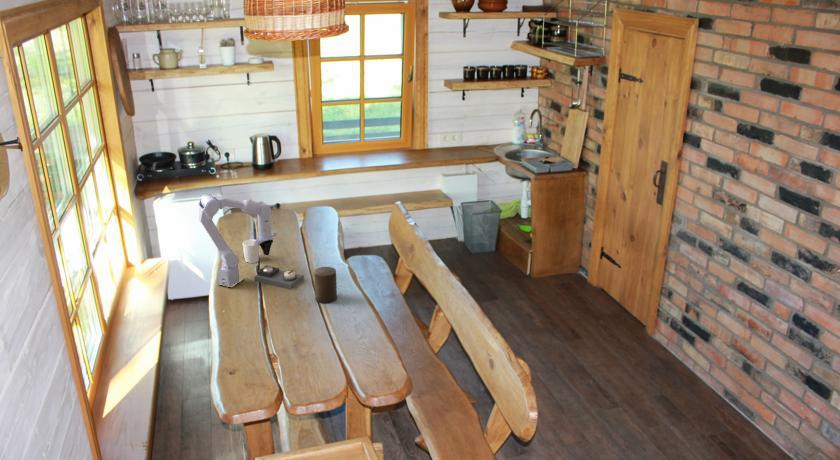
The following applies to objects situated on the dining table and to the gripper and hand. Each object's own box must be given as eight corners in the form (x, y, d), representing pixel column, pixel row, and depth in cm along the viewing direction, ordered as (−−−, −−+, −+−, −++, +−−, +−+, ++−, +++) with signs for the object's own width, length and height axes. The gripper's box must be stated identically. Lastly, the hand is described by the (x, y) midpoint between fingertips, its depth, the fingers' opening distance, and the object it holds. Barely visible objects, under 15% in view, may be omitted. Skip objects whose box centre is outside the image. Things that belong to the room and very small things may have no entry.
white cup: (262, 258, 357) (260, 239, 353) (257, 264, 349) (255, 245, 346) (246, 257, 357) (245, 238, 354) (241, 263, 350) (240, 245, 346)
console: (290, 289, 325) (290, 280, 323) (254, 281, 332) (254, 272, 330) (303, 280, 334) (303, 271, 332) (268, 272, 342) (267, 263, 340)
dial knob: (291, 280, 327) (291, 275, 326) (282, 278, 329) (281, 273, 328) (297, 275, 331) (297, 271, 330) (288, 273, 333) (288, 269, 332)
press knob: (269, 275, 332) (269, 271, 331) (261, 273, 333) (261, 269, 332) (274, 271, 335) (274, 268, 335) (267, 270, 337) (266, 266, 336)
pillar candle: (333, 304, 312) (332, 273, 307) (312, 302, 314) (310, 271, 308) (339, 295, 321) (339, 264, 315) (319, 292, 323) (318, 262, 317)
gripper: (262, 234, 323) (264, 261, 328) (280, 224, 335) (282, 250, 340) (249, 232, 326) (251, 258, 331) (268, 221, 338) (270, 247, 343)
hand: (266, 254), depth 336 cm, fingers closed
